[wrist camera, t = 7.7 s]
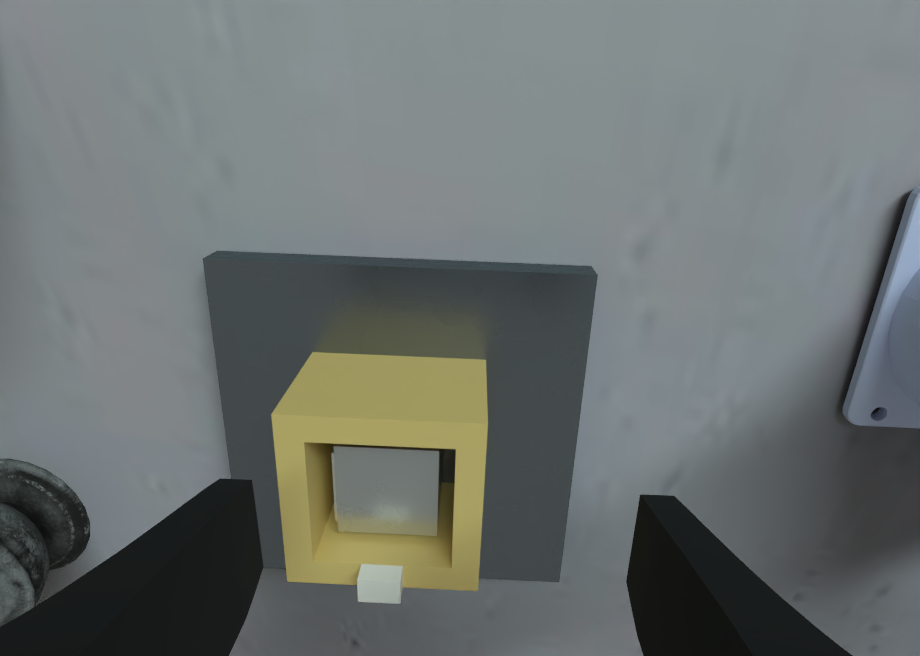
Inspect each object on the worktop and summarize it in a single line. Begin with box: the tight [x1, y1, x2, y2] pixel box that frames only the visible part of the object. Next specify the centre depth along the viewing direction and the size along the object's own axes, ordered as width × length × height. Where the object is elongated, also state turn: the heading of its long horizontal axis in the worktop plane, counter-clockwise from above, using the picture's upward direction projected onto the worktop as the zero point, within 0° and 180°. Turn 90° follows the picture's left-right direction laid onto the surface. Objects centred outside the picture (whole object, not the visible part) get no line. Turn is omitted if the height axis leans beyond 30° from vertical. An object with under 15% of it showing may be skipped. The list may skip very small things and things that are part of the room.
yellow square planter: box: [271, 352, 488, 604], centre depth 18 cm, size 6×6×5 cm
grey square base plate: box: [203, 251, 597, 582], centre depth 19 cm, size 12×12×4 cm
